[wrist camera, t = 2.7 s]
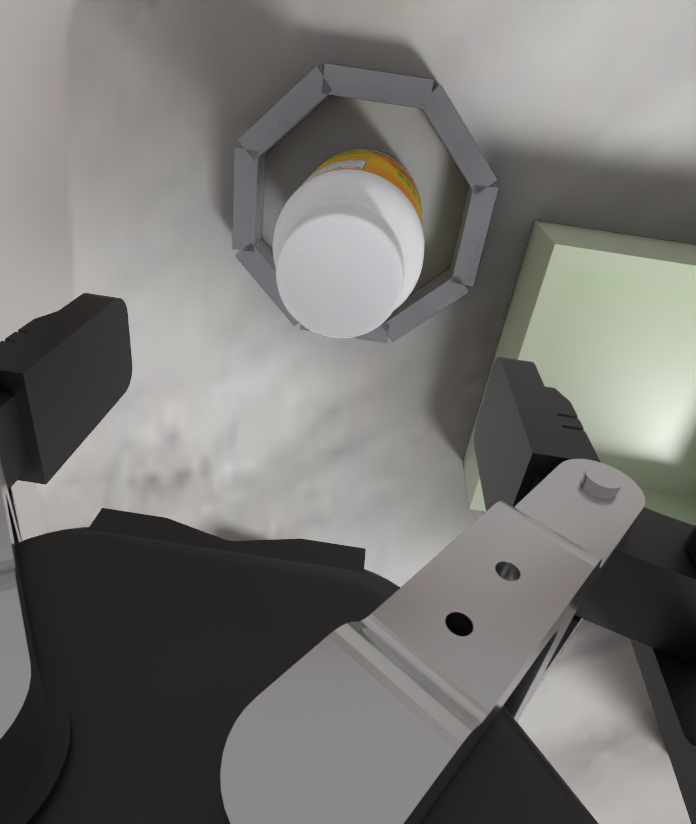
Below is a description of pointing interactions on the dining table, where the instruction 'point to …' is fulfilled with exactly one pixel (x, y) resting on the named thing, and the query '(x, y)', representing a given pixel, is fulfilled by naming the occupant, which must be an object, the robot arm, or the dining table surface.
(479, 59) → the dining table surface
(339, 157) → the supplement bottle
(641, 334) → the bin
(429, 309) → the socket ring
